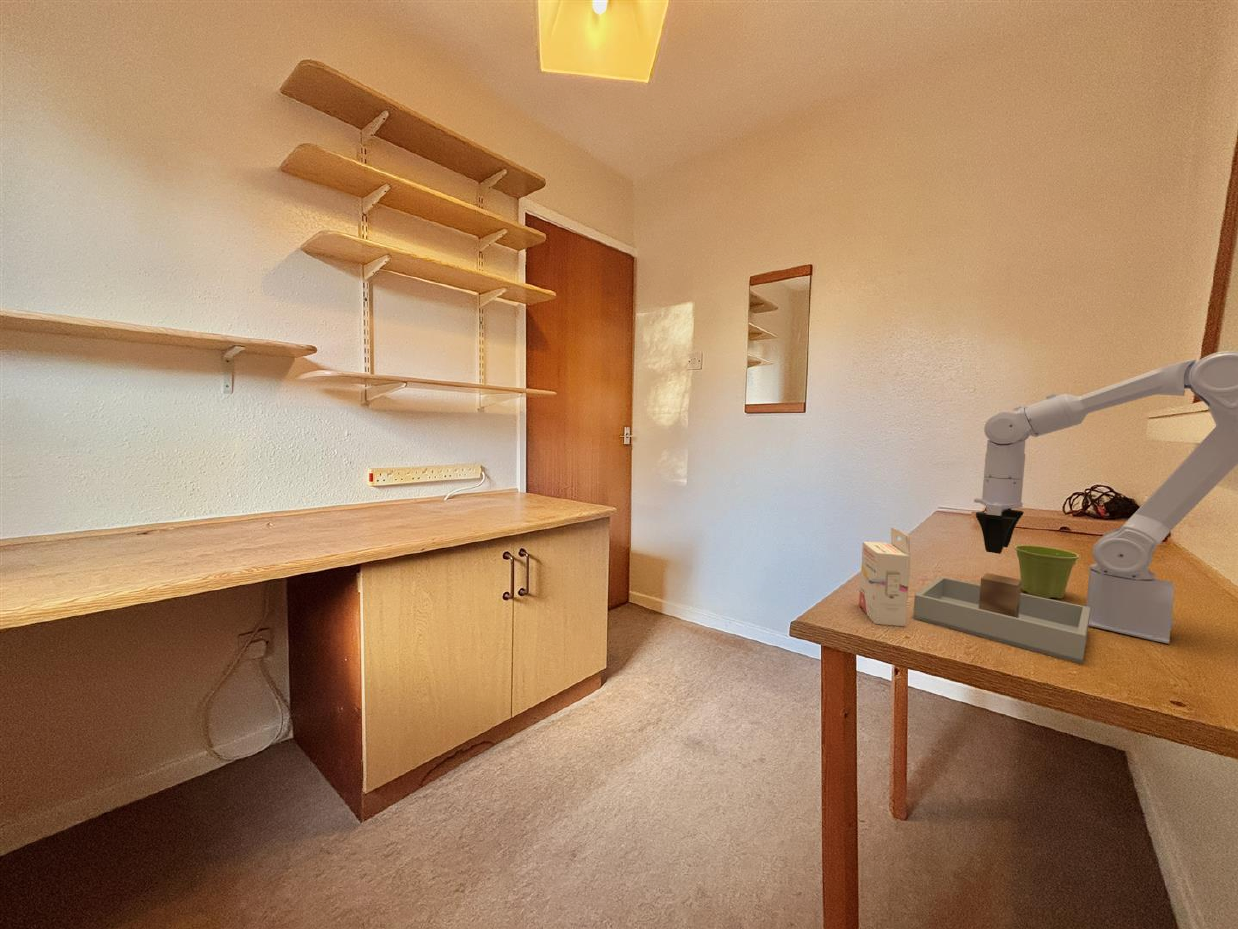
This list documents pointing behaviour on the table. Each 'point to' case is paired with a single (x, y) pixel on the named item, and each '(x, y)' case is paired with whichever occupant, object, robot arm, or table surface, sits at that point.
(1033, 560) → the plant pot
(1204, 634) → the table surface
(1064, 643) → the tray bin
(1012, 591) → the walnut block
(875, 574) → the ink cartridge box
